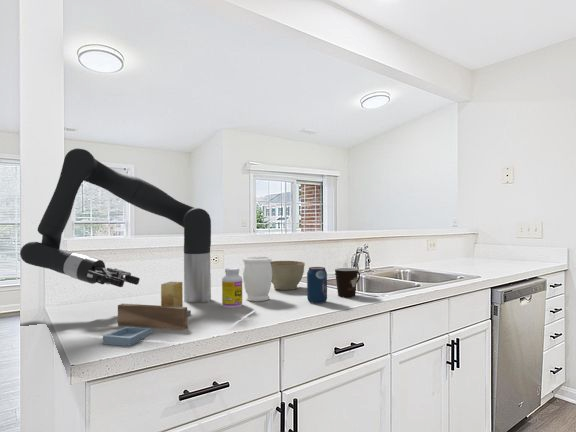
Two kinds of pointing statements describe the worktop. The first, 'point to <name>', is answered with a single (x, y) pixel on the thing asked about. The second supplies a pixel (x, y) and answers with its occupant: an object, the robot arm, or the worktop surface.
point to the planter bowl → (286, 274)
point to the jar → (257, 278)
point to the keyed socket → (126, 336)
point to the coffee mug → (346, 281)
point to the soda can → (317, 285)
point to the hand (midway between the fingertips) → (131, 282)
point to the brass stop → (171, 294)
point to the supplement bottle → (232, 288)
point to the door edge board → (152, 316)
